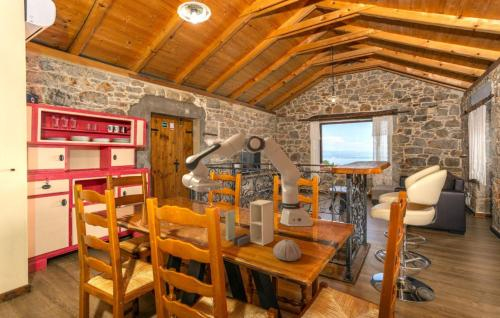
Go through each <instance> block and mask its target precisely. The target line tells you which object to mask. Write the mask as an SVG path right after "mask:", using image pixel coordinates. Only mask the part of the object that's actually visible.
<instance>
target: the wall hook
mask: <svg viewBox="0 0 500 318" xmlns="http://www.w3.org/2000/svg"><path fill="white" fill-rule="evenodd" d="M211 206H213V207H216V205H210V206H209V207H211ZM219 217H220V218H224V217H225V213H223V211H222V210H221V209H220V216H219Z"/></svg>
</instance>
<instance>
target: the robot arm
mask: <svg viewBox="0 0 500 318" xmlns="http://www.w3.org/2000/svg"><path fill="white" fill-rule="evenodd" d="M241 150H244V151H245V152H247V153H250V154H256V153H258V152H260V151H261V152H262V153H263V154H264V155H265V156H266V157H267V159H268V160H269V161H270V163H271V165H273V166H274V168H275V169H276V171H277V172H278V173H279V174H280V178H281V179H280V180H281V190H282V191H281V192H282V195H281V196H282V197H281V199H282V200H281V217H280V221H279V223H281V224H282V225H285V226H288V227H312V226H314V220H313V219H311V217H310V214H309V212H307V211H306V210H305V209H303V208H302V207H303V204H302V203H301V202H299V187H298V186H299V185H298V182H299V181H300V180H301V175H302V174H301V172H300V170H299V169H298V168H297V166H296V165H295V164H294V163H293V161H291V159H290V158H289V157H288V155H286V153H285V151H283V149H282V148H281V147H280V145H279V143H277V142H276V140H275V139H273V138H272V137H270V136H268V137H264V138H262V137H260V136H258V135H251V136H250V137H248V138H247V137H246V136H244V134H243V133H235V134H234V135H232V136H230V137H229V138H228V139H226V140H225V141H223V142H220V143H219V142H215V143H213V144H211V145H209V146H208V147H205V148H204V149H202V150H200V151H199V152H197V153H195V154H193V155H190V156H188V157H187V158H186V159H185V163H184V167H185V169H187V170H188V172H189V173H186V174H184V175H183V176H182V179H181V182H182V185H183V186H185V187H186V188H188V189H191V190H193V191H194V192H198V193H204V192H209V193H210V192H212V191H223V190H224V187H223V183H221V182H219V181H217V180H214V179H211V178H208V177H209V175H210V169H209V168H208V166H206V164H204V162H203V160H205V159H207V158H209V157H210V156H213V155H218V156H220V157H222V158H225V159H229V158H232V157H234V156H235V155H236V154H237V153H239V152H240V151H241Z"/></svg>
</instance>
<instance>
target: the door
mask: <svg viewBox="0 0 500 318" xmlns="http://www.w3.org/2000/svg"><path fill="white" fill-rule="evenodd" d="M224 218H225V241H228V242H229V241H231V240H232V241H233V238H234V237H236V211H235V210H234V209H232V210H228V211H225V213H224Z"/></svg>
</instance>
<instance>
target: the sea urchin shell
mask: <svg viewBox="0 0 500 318" xmlns="http://www.w3.org/2000/svg"><path fill="white" fill-rule="evenodd" d="M272 251H273V252H272V253H273V255H274V257H276V258H277V259H278V260H282V261H285V262H286V261H287V262H294V261H297V260H299V259H300V258H301V256H302V250H301V248H300V245H298V244H297V243H296V241H294V240H292V239H282V240H280V241H278V242H277V243H276V244H275V245H274V247H273V248H272Z"/></svg>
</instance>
